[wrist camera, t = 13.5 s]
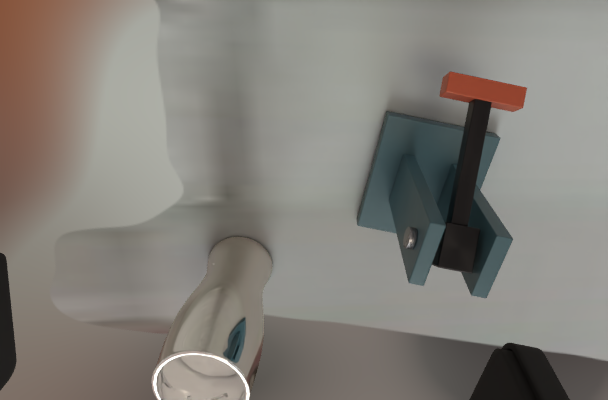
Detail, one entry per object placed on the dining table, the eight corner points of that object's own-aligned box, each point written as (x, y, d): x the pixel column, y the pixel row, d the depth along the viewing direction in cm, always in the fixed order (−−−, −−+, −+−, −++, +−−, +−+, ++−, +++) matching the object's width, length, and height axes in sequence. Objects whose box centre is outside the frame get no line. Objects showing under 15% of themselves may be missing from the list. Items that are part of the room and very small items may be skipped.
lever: (440, 79, 31) (452, 68, 29) (513, 94, 31) (531, 85, 29) (405, 258, 31) (415, 262, 29) (478, 272, 31) (494, 278, 29)
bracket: (386, 110, 37) (410, 171, 26) (496, 133, 38) (567, 203, 26) (356, 219, 42) (365, 312, 30) (455, 238, 42) (500, 338, 31)
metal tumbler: (279, 236, 43) (255, 355, 29) (274, 297, 46) (250, 431, 32) (204, 227, 43) (145, 343, 30) (204, 289, 46) (150, 420, 33)
